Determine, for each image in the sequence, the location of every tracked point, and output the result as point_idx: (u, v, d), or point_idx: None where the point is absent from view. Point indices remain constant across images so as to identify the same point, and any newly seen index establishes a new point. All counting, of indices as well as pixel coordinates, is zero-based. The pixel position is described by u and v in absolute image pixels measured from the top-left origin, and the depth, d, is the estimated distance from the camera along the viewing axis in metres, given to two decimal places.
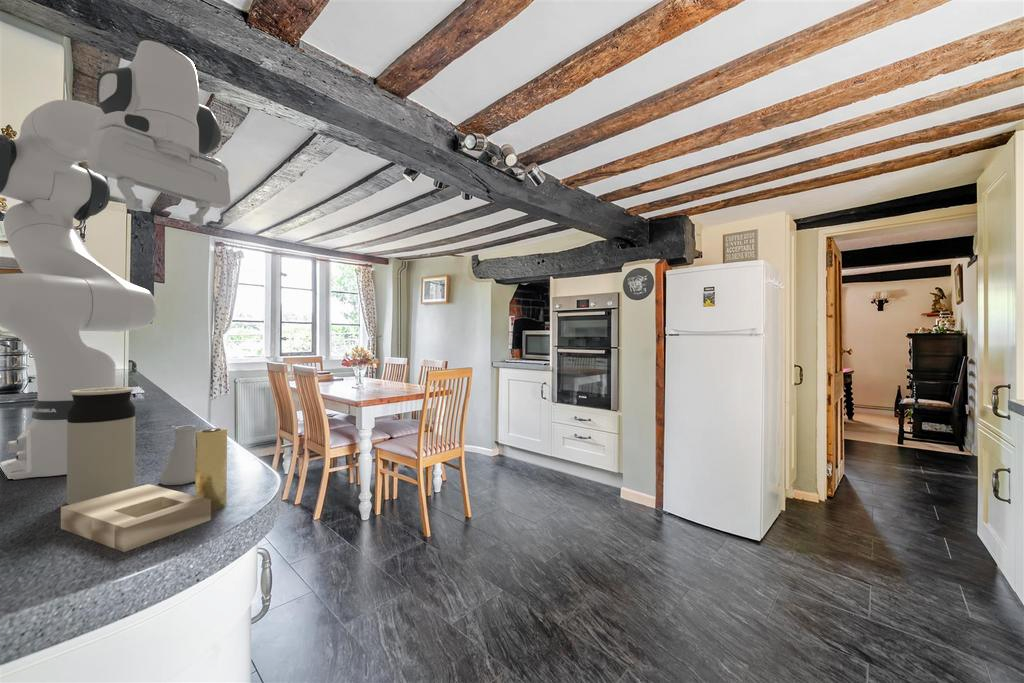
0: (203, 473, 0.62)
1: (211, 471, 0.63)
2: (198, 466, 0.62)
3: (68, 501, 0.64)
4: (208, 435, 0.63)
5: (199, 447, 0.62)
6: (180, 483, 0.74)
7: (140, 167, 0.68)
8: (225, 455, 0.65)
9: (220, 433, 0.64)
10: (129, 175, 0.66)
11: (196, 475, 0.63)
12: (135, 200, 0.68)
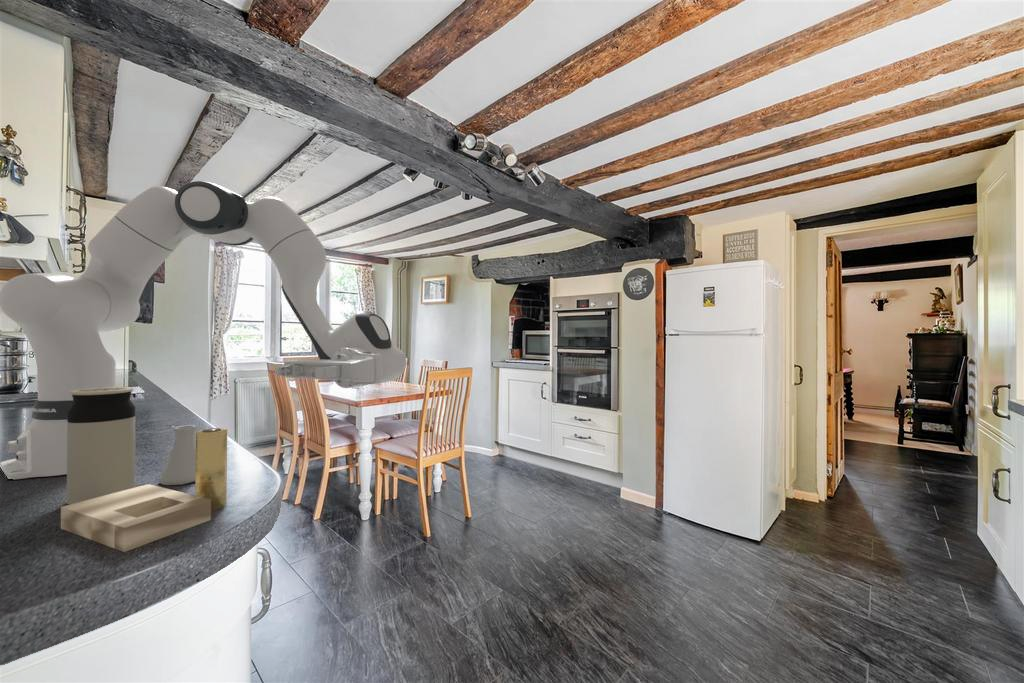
0: (203, 472, 0.62)
1: (211, 471, 0.63)
2: (198, 466, 0.63)
3: (68, 501, 0.64)
4: (208, 435, 0.63)
5: (199, 447, 0.62)
6: (180, 483, 0.74)
7: None
8: (225, 455, 0.65)
9: (220, 433, 0.64)
10: (339, 379, 0.80)
11: (196, 475, 0.63)
12: (320, 377, 0.78)
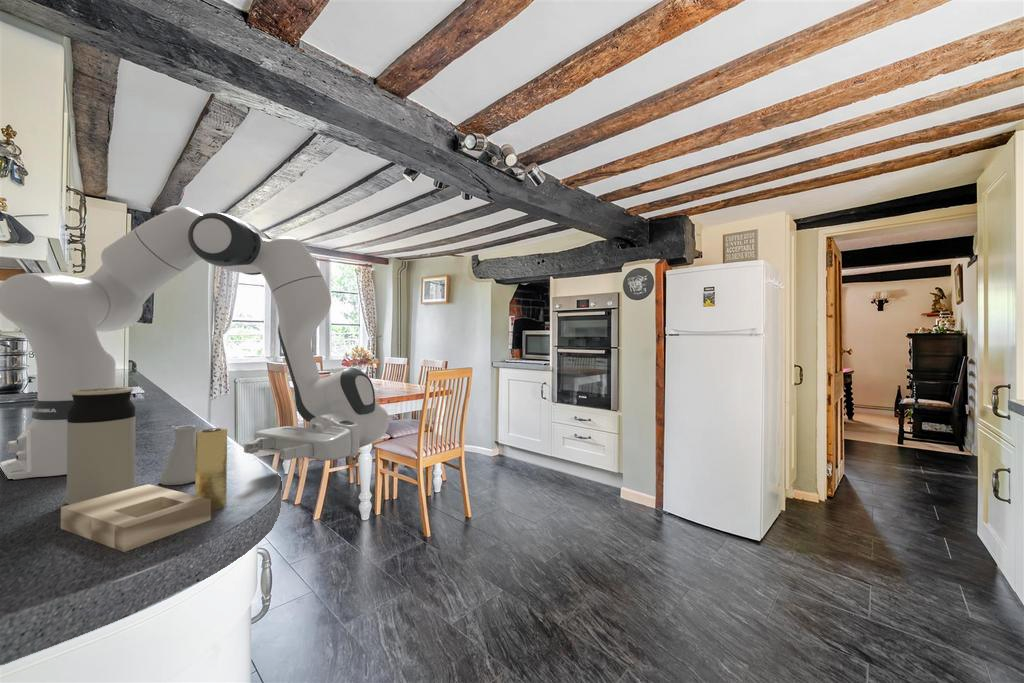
0: (203, 472, 0.62)
1: (211, 471, 0.63)
2: (198, 466, 0.63)
3: (68, 501, 0.64)
4: (208, 435, 0.63)
5: (199, 447, 0.62)
6: (180, 483, 0.74)
7: None
8: (225, 455, 0.65)
9: (220, 433, 0.64)
10: (312, 458, 0.75)
11: (196, 475, 0.63)
12: None
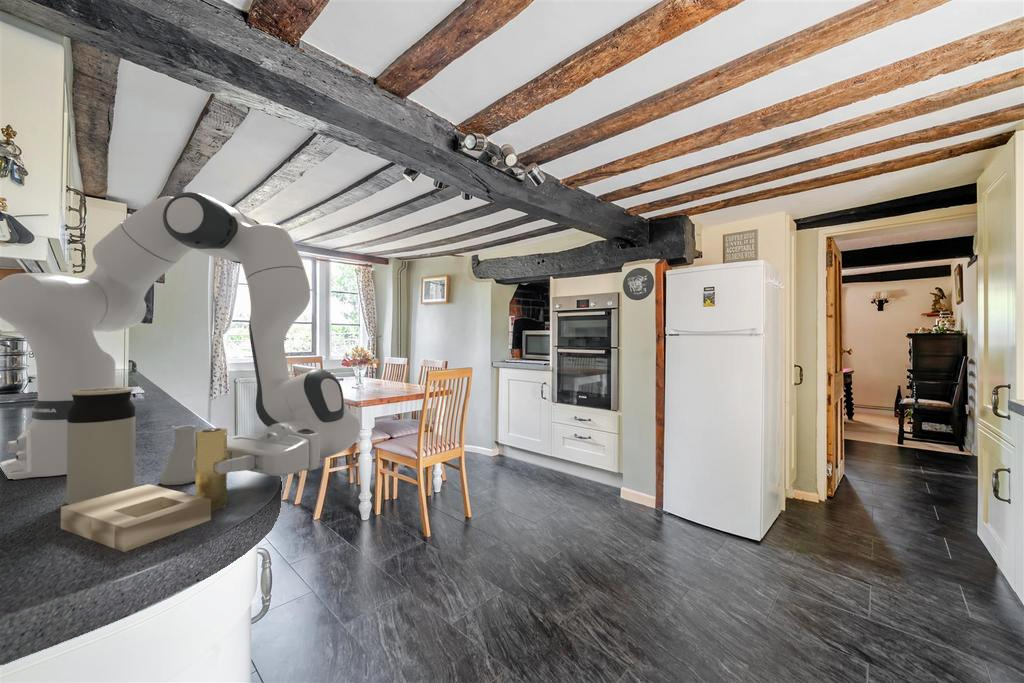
0: (203, 472, 0.62)
1: (211, 471, 0.63)
2: (198, 466, 0.63)
3: (68, 501, 0.64)
4: (208, 435, 0.63)
5: (199, 447, 0.62)
6: (180, 483, 0.74)
7: None
8: (225, 455, 0.65)
9: (220, 433, 0.64)
10: None
11: (196, 475, 0.63)
12: None
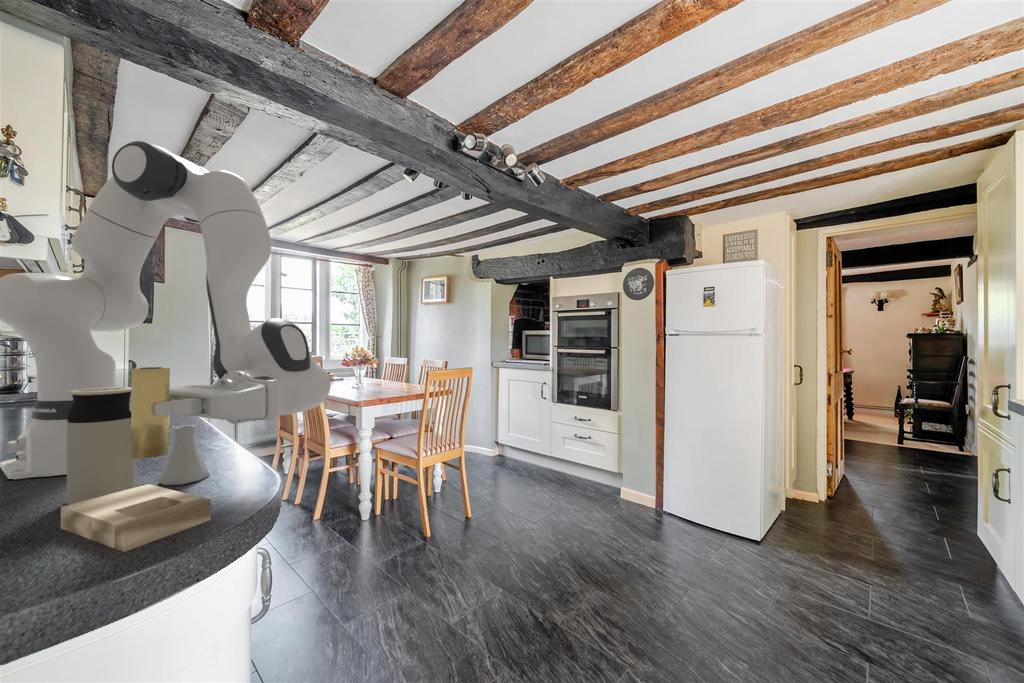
0: (139, 414, 0.55)
1: (148, 412, 0.55)
2: (134, 406, 0.55)
3: (68, 501, 0.64)
4: (145, 372, 0.55)
5: (135, 385, 0.55)
6: (180, 483, 0.74)
7: None
8: (167, 396, 0.57)
9: (160, 370, 0.56)
10: (208, 417, 0.58)
11: (132, 417, 0.55)
12: (167, 414, 0.56)
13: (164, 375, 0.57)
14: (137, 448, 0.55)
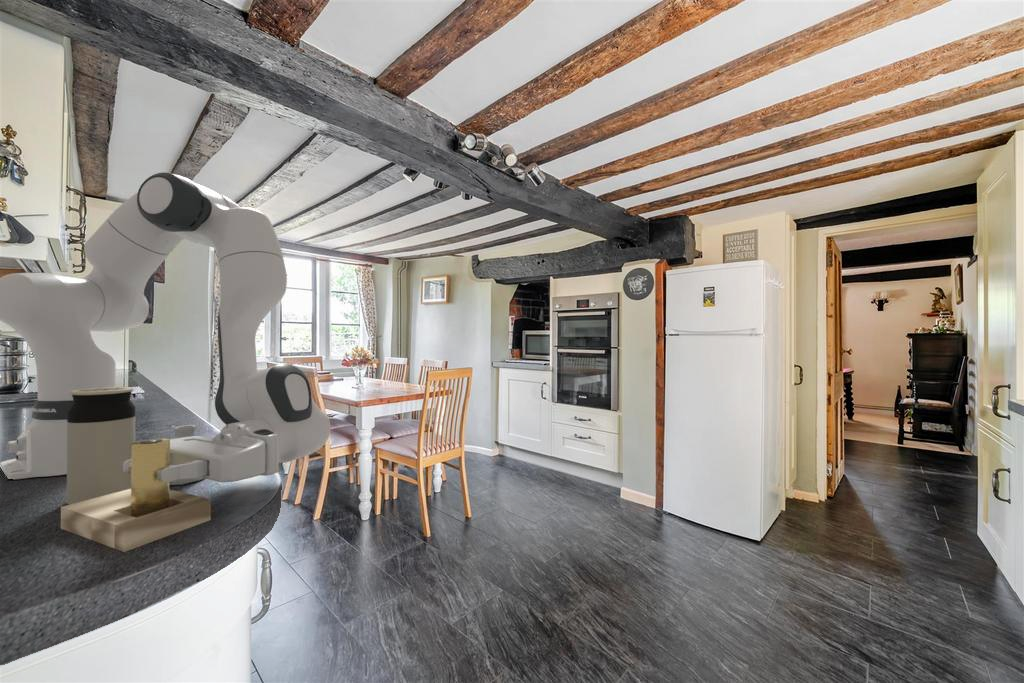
0: (139, 490, 0.55)
1: (148, 488, 0.55)
2: (134, 482, 0.55)
3: (68, 501, 0.64)
4: (145, 448, 0.55)
5: (135, 461, 0.55)
6: (180, 483, 0.74)
7: None
8: None
9: (160, 445, 0.56)
10: None
11: (131, 493, 0.55)
12: (172, 479, 0.56)
13: (164, 449, 0.57)
14: None
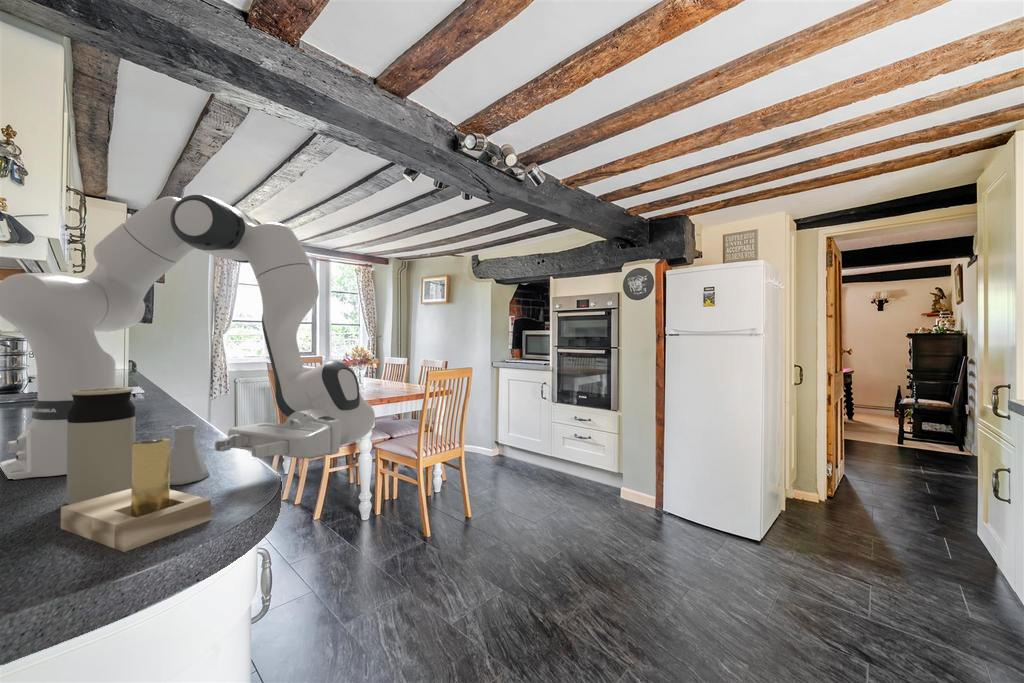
0: (139, 489, 0.55)
1: (149, 487, 0.55)
2: (134, 482, 0.55)
3: (68, 501, 0.64)
4: (146, 447, 0.55)
5: (136, 460, 0.55)
6: (180, 483, 0.74)
7: None
8: (167, 469, 0.57)
9: (161, 444, 0.56)
10: None
11: (132, 492, 0.55)
12: None
13: (165, 448, 0.57)
14: None
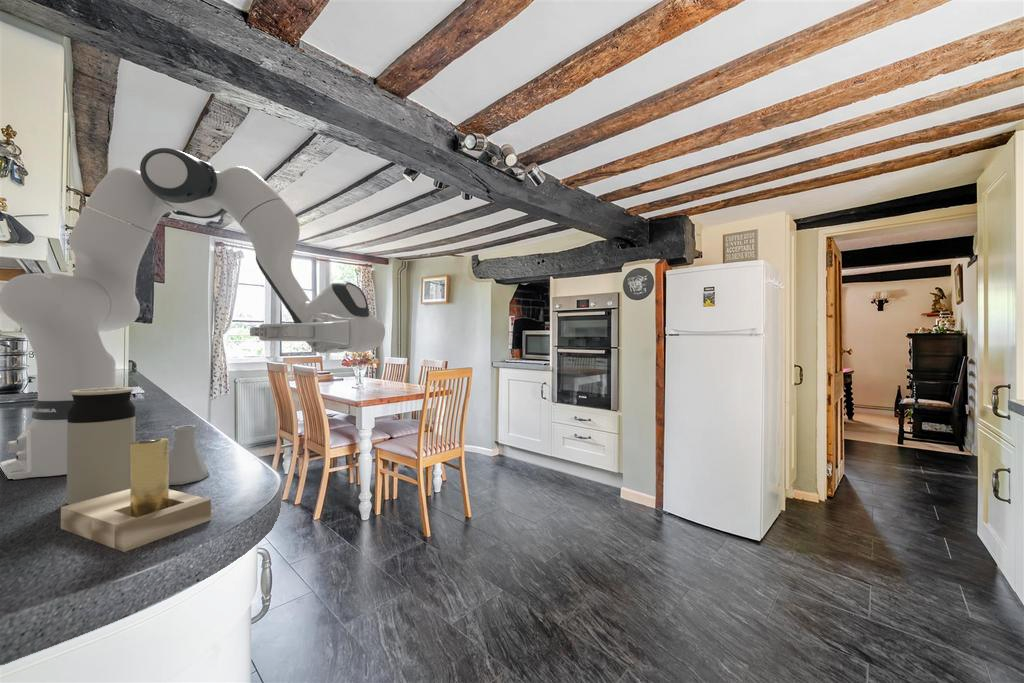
0: (138, 489, 0.55)
1: (148, 487, 0.55)
2: (133, 482, 0.55)
3: (68, 501, 0.64)
4: (144, 447, 0.55)
5: (134, 460, 0.55)
6: (180, 483, 0.74)
7: None
8: (166, 469, 0.57)
9: (159, 444, 0.56)
10: (313, 340, 0.81)
11: (131, 492, 0.55)
12: (293, 336, 0.78)
13: (163, 448, 0.57)
14: None
